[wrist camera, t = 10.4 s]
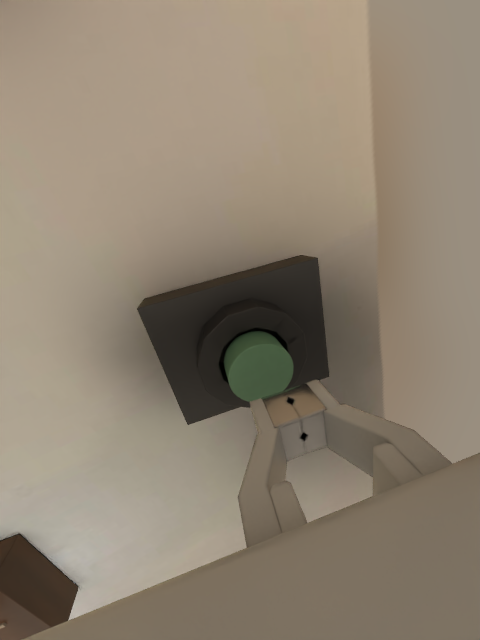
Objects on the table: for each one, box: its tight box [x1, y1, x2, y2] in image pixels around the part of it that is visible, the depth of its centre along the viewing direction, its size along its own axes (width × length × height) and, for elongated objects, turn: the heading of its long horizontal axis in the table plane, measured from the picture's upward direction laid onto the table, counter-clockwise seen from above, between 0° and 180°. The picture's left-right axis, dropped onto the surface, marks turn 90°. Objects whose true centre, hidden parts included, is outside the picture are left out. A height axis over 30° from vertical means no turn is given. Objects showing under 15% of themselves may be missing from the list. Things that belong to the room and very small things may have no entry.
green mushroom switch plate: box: [137, 255, 329, 425], centre depth 15 cm, size 11×9×4 cm
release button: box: [224, 331, 293, 402], centre depth 13 cm, size 4×4×2 cm
